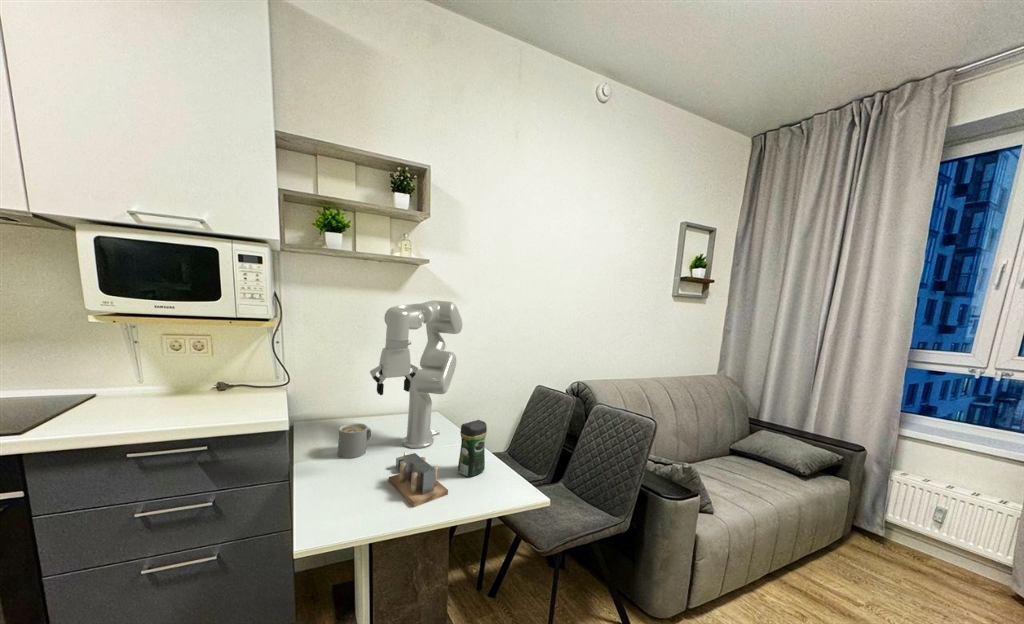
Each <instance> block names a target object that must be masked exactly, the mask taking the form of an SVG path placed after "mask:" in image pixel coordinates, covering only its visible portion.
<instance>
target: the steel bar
mask: <svg viewBox="0 0 1024 624" xmlns="http://www.w3.org/2000/svg"><path fill="white" fill-rule="evenodd" d="M403 456H404V455H403ZM421 457H422V456H420V455H418V454H417V453H416V452H413V453H409V454H406V455H405V456H404V462H405V463H406V472H405V479H406V480H408V481H409V482H410V483H411V477H412V473H413V472H417V473H418V476H417V490H418V491H419V492H420V493H421V494H422V495H423V494H426V493H429V492H432V491H434V482H435V469H434V468H433V466H432V465H430V464H429V463H428V462H427V461H426V460H425V461H424V460H423V459H422V458H421Z"/></svg>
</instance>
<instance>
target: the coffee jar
mask: <svg viewBox="0 0 1024 624" xmlns="http://www.w3.org/2000/svg"><path fill="white" fill-rule="evenodd" d="M487 429H488V428H487V423H486V422H485V421H484V420H480V419H477V420H472V421H469V422H465V423H463V424H461V426H460V436H461V445H460V452H459V457H458V458H459V459H458V466H457V471H458V473H459V474H460V475H462V476H463V477H469V478H473V477H474V476H477V475H479V474H481V473H483V472H484V471H485V469H486V467H485V464H486V463H485V462H486V461H485V451H486V450H485V449H486V448H485V445H486V444H485V443H486V442H485V441H486V437H487V432H488V430H487Z"/></svg>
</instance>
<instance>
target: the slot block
mask: <svg viewBox="0 0 1024 624" xmlns="http://www.w3.org/2000/svg"><path fill="white" fill-rule="evenodd" d="M405 455H407V452H406V451H404V452H403V456H399V457H396V458H395V459H396V460H395V468H396V470H398V472H400V463H402V462H404V456H405Z"/></svg>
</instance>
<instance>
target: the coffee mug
mask: <svg viewBox="0 0 1024 624" xmlns="http://www.w3.org/2000/svg"><path fill="white" fill-rule="evenodd" d="M371 436H372V429H371V428H370V427H368V425H367V424H365V423H359V422H358V423H357V422H356V423H355V422H354V423H347V424H344V425H341V426H339V430H338V443H337V444H338V445H337V446H338V447H337V456H338V457H339V458H340V459H346V460H350V459H357V458H360V457H362V456H364V455H365V454H366V450H367V442H369V440H370V438H371Z"/></svg>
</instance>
